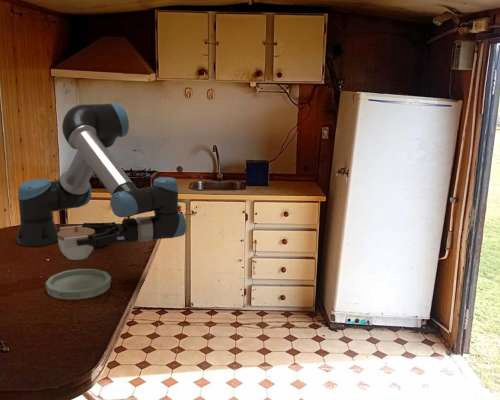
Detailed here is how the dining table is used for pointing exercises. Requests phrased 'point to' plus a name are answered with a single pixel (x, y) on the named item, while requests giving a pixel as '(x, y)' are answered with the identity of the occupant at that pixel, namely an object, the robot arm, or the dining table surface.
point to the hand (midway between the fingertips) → (62, 237)
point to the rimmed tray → (78, 284)
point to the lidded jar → (75, 252)
